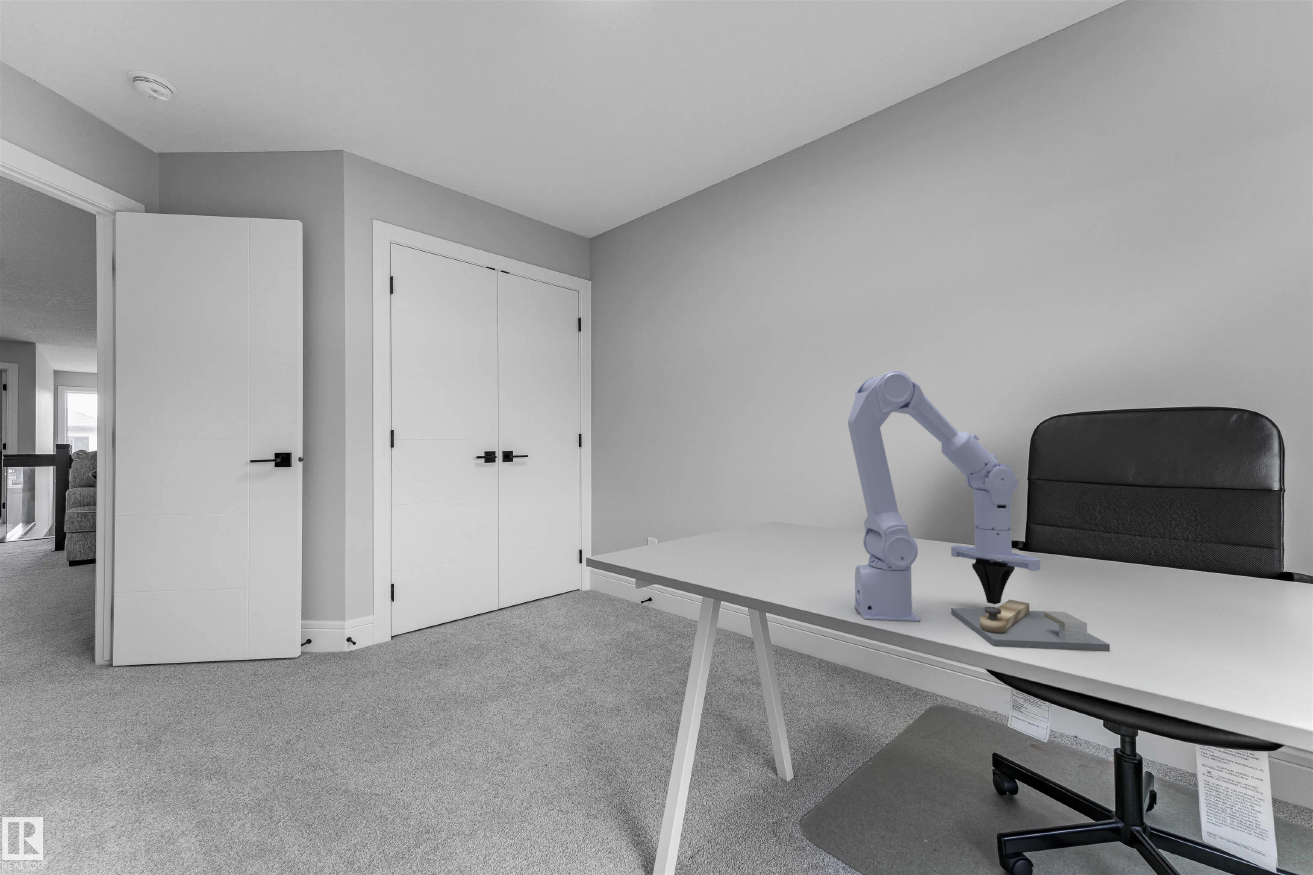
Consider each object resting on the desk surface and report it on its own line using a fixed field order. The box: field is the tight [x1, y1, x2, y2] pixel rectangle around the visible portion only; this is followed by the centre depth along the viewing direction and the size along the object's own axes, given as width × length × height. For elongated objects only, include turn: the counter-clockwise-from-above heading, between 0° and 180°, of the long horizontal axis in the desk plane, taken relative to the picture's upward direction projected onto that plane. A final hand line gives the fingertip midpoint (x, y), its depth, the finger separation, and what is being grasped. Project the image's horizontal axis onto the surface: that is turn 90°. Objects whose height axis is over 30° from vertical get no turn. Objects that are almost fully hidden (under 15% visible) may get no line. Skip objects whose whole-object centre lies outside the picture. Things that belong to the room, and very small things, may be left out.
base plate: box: [950, 607, 1111, 652], centre depth 88 cm, size 16×16×1 cm
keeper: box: [1043, 610, 1088, 643], centre depth 82 cm, size 3×6×3 cm, turn 172°
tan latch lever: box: [980, 599, 1030, 633], centre depth 90 cm, size 16×4×3 cm, turn 132°
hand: (993, 602), depth 97 cm, fingers closed
